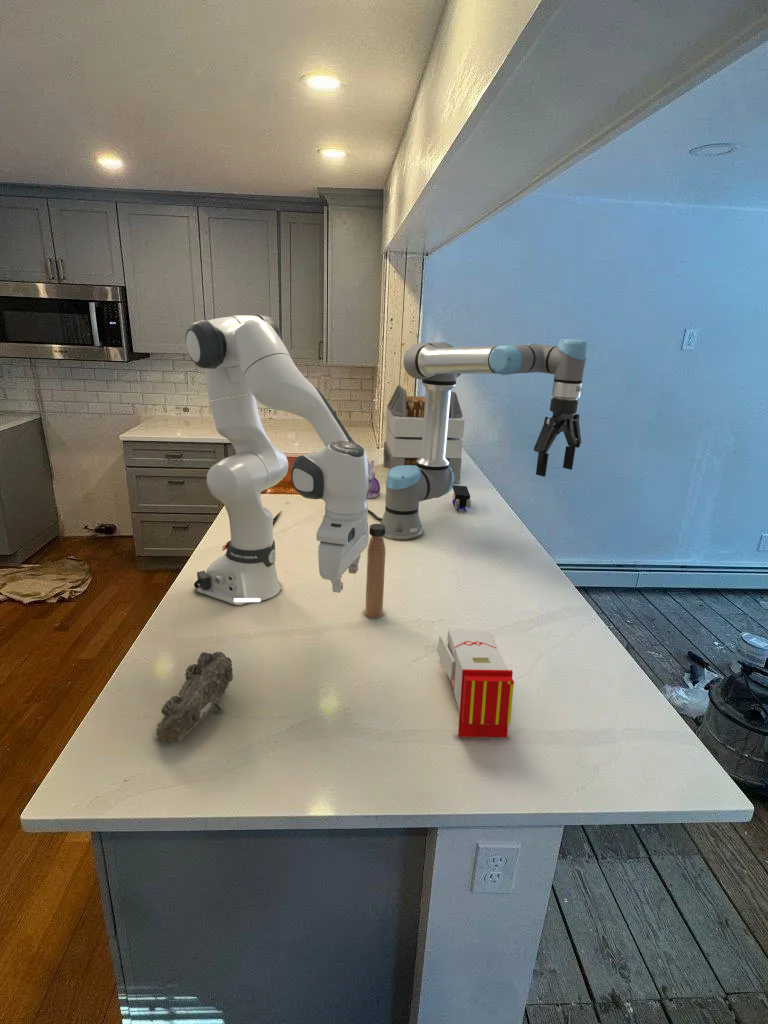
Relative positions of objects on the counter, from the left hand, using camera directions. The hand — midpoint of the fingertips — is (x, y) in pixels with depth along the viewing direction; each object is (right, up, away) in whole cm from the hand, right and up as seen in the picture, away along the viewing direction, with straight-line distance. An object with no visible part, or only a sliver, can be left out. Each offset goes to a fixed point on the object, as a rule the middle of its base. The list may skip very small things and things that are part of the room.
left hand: (345, 581), depth 122 cm
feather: (-31, +14, +91) cm, 97 cm away
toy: (+26, -23, -3) cm, 35 cm away
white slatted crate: (+26, +34, +153) cm, 159 cm away
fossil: (-27, -23, -11) cm, 38 cm away
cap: (+7, +11, +18) cm, 22 cm away
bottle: (+6, -11, +26) cm, 29 cm away
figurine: (+2, +22, +117) cm, 119 cm away
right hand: (+58, +26, +42) cm, 76 cm away
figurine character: (+39, +17, +108) cm, 116 cm away
